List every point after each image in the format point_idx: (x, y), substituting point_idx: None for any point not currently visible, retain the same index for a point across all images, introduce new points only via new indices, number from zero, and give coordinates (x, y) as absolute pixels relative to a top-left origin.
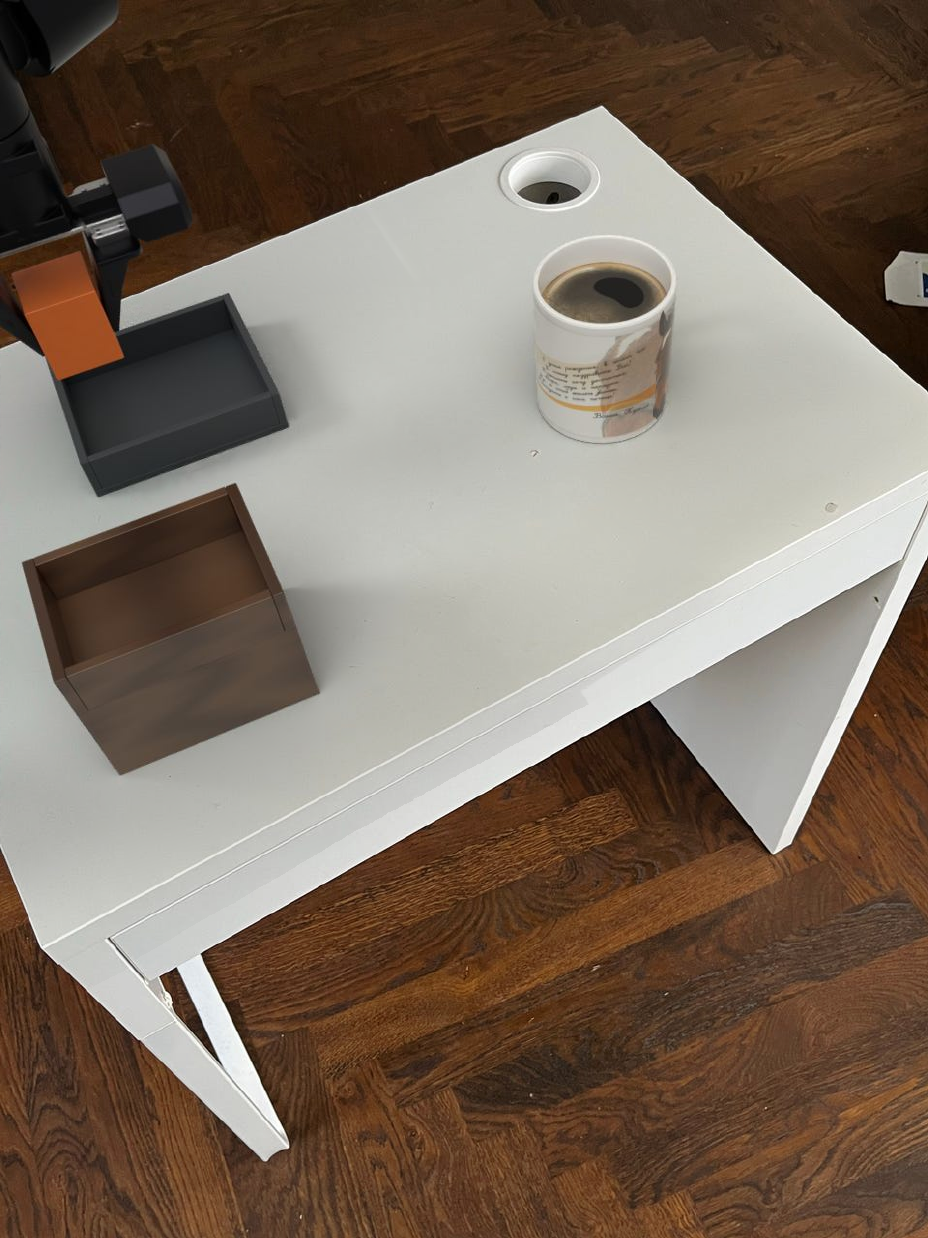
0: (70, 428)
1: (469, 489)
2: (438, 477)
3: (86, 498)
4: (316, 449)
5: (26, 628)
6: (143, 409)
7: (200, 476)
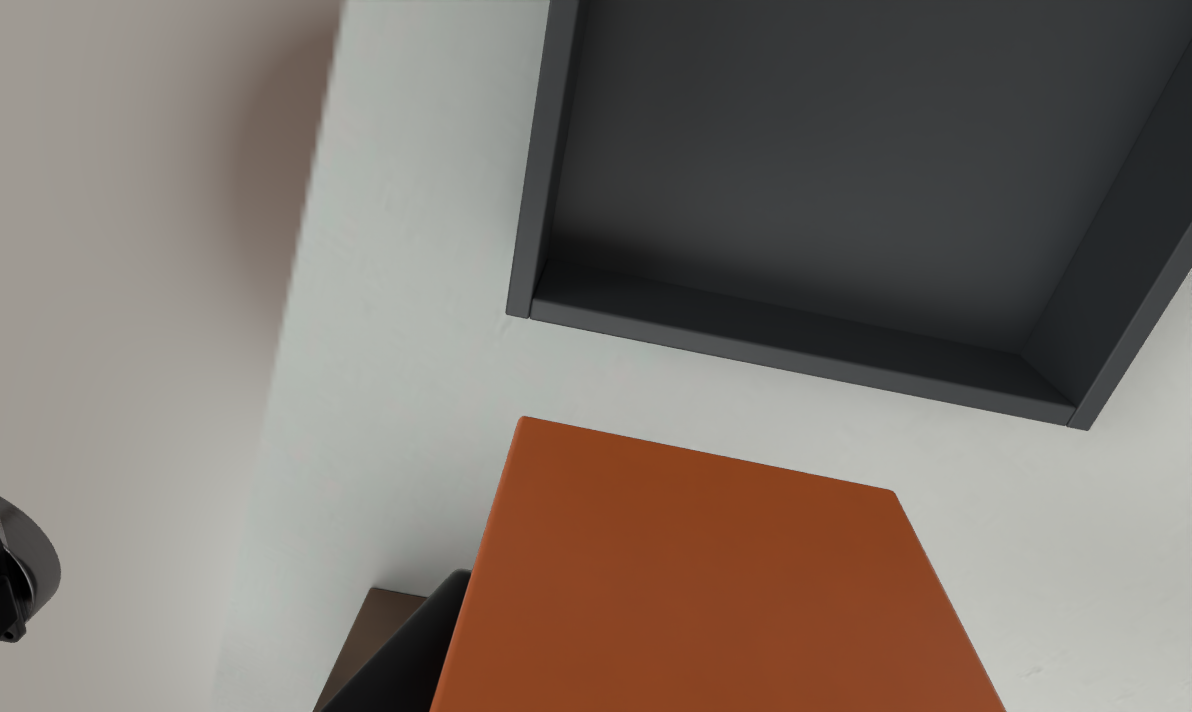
0: (533, 155)
1: (1109, 684)
2: (1100, 640)
3: (501, 248)
4: (1005, 456)
5: (286, 473)
6: (781, 63)
7: None
